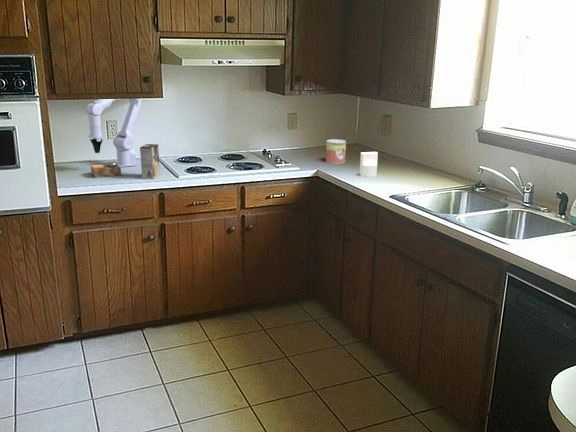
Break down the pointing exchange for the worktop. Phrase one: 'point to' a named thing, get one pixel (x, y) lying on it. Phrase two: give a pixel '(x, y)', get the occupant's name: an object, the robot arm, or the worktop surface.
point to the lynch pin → (112, 164)
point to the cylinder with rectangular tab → (368, 164)
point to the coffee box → (150, 161)
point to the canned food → (335, 151)
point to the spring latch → (97, 166)
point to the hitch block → (106, 171)
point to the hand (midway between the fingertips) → (97, 152)
